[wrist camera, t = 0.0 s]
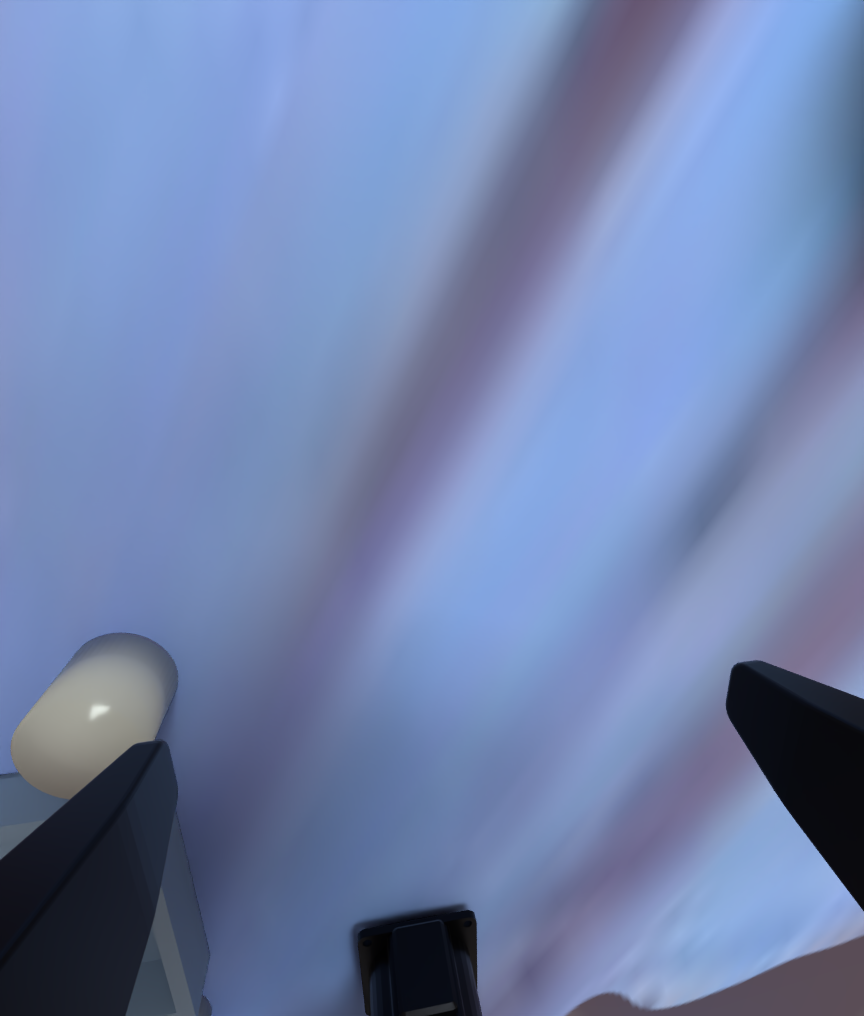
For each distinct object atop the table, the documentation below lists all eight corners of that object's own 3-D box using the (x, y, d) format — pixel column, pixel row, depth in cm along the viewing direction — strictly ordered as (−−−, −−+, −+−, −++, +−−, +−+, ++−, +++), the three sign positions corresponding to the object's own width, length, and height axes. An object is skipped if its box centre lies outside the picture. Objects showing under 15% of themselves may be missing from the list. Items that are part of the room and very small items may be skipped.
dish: (209, 954, 30) (196, 1020, 27) (-70, 1006, 28) (-116, 1083, 25) (161, 752, 26) (140, 806, 23) (-174, 798, 24) (-243, 862, 21)
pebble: (186, 711, 25) (155, 790, 21) (82, 725, 25) (29, 808, 20) (168, 627, 24) (131, 693, 20) (57, 638, 23) (-6, 709, 19)
